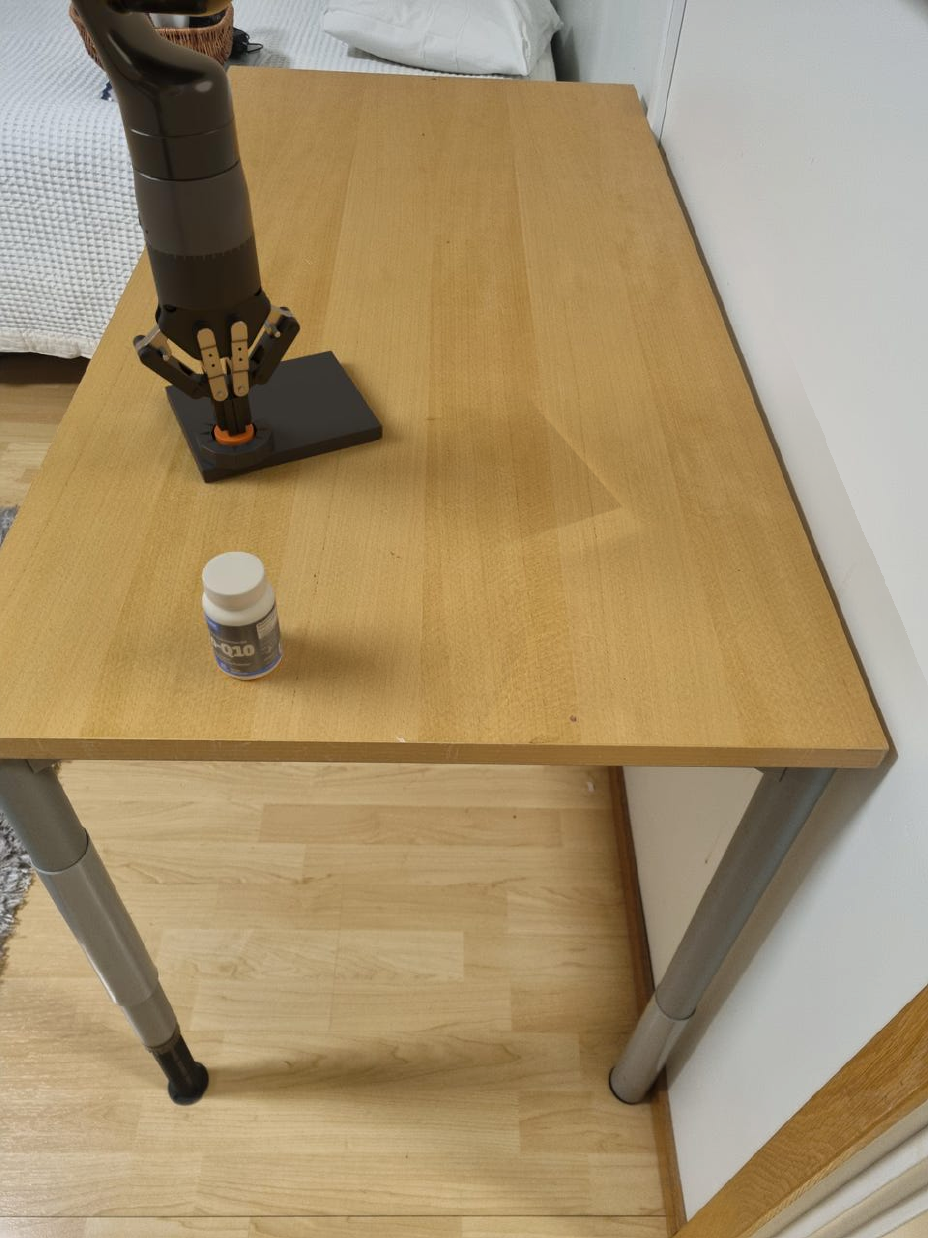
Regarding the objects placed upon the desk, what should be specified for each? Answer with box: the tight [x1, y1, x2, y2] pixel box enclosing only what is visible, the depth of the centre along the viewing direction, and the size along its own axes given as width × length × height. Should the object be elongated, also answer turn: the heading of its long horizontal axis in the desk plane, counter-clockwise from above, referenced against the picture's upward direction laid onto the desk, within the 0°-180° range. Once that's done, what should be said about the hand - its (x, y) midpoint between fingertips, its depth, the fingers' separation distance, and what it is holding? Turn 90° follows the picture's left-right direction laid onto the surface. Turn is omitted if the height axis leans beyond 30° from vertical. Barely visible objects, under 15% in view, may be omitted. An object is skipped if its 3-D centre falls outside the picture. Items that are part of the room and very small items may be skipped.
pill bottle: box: [201, 551, 284, 681], centre depth 63 cm, size 5×5×8 cm
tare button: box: [214, 424, 255, 446], centre depth 78 cm, size 3×3×2 cm
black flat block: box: [164, 350, 383, 484], centre depth 83 cm, size 16×14×3 cm
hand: (234, 428), depth 78 cm, fingers closed
